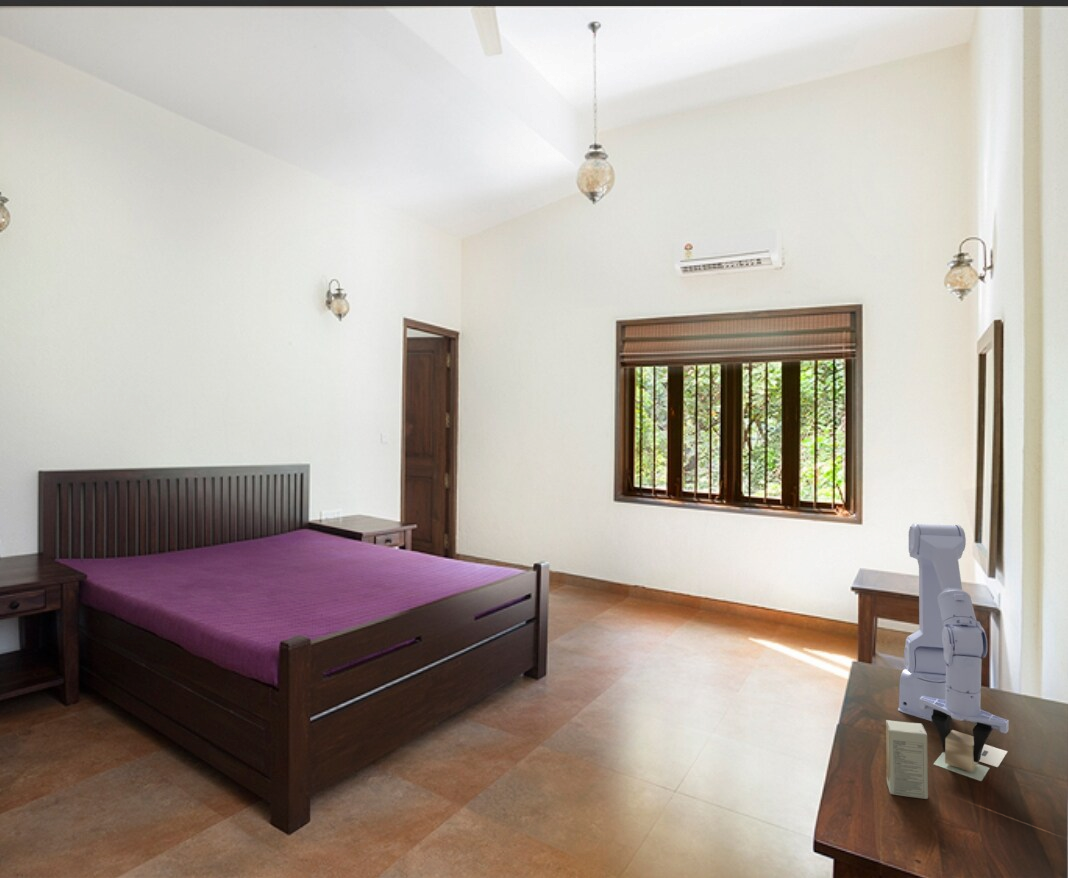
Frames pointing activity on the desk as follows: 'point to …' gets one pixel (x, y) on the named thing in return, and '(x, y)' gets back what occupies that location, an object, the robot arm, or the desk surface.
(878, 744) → the desk surface
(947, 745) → the maple block
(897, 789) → the skincare box
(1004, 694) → the desk surface
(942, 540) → the robot arm
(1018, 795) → the desk surface
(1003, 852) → the desk surface
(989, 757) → the tile
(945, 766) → the sage coaster
